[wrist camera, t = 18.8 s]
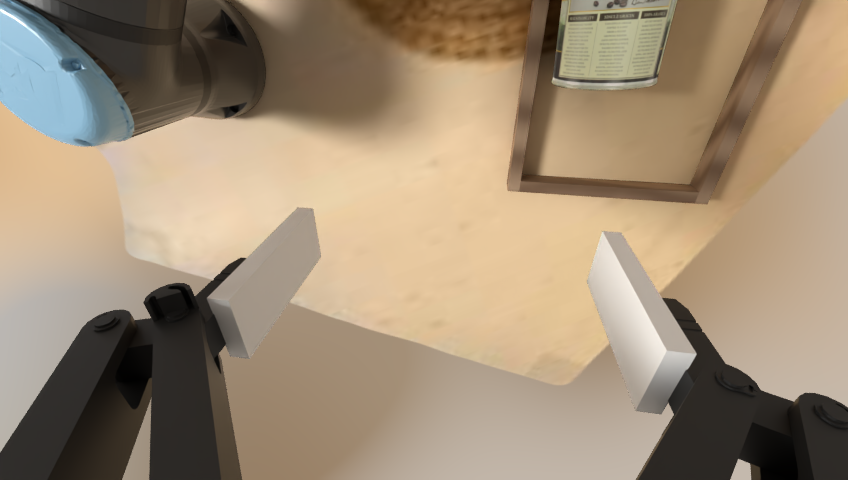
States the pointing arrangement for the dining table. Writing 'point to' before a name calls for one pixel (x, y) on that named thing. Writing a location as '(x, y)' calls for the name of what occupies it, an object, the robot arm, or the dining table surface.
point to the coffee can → (611, 43)
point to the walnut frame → (719, 146)
